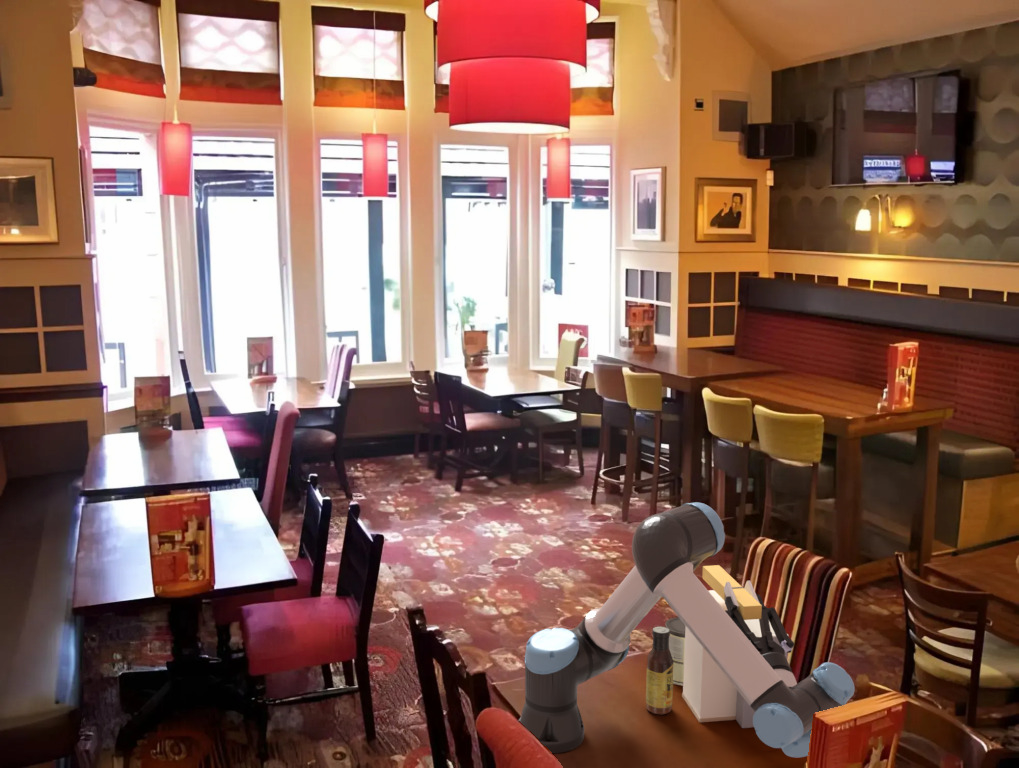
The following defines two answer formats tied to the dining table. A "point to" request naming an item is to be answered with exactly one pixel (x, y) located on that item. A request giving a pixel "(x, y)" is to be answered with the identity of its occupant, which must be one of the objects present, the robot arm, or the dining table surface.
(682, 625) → the coffee can
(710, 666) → the cream pillar
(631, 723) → the dining table surface
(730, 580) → the yellow long bar
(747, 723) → the grey upright block
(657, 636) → the sauce bottle
